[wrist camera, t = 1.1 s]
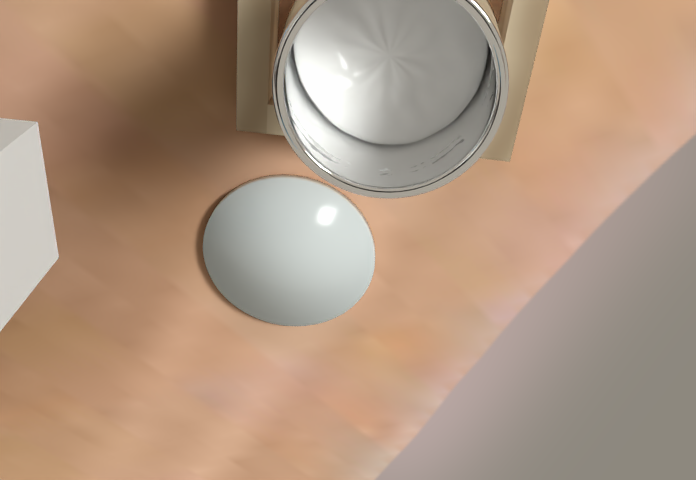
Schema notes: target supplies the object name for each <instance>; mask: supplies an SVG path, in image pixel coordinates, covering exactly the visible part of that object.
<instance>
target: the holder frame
mask: <svg viewBox="0 0 696 480" xmlns="http://www.w3.org/2000/svg"><path fill="white" fill-rule="evenodd" d="M548 3H549V0H503V4H502V8H501V13H500V18H499V23H498V28H499V32H500V36H501V40H502V42H503V45H504V48H505V52H506V56H507V61H508V68H509V94H508V101H507V106H506V110H505V113H504V116H503V119H502V122H501V125H500V127H499V129H498V131H497V133H496V135H495V137H494V139H493V140H492V142H491V144H490V145H489V147H488V148H487V149H486V151H485V152H484V153H483V155H482V156H481V157H480V158H482V159H490V160H499V161H508V162H510V159H511V155H512V151H513V147H514V143H515V139H516V134H517V130H518V126H519V122H520V118H521V114H522V110H523V106H524V102H525V98H526V93H527V89H528V85H529V81H530V77H531V73H532V69H533V65H534V61H535V56H536V52H537V48H538V44H539V40H540V36H541V32H542V28H543V24H544V19H545V15H546V11H547V7H548ZM278 23H279V0H238V14H237V102H236V130H238V131H247V132H256V133H264V134H273V135H282V136H284V134H283V132H282V130H281V128H280V125H279V122H278V120H277V116H276V113H275V109H274V104H273V97H272V70H273V64H274V59H275V55H276V51H277V46H278Z"/></svg>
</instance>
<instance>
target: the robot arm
mask: <svg viewBox="0 0 696 480" xmlns="http://www.w3.org/2000/svg"><path fill="white" fill-rule="evenodd" d="M58 258H59V255H58V249H57V243H56V236H55V230H54V223H53V217H52V211H51V204H50V198H49V191H48V185H47V179H46V172H45V166H44V159H43V153H42V147H41V140H40V134H39V127H38V122H33V121H24V120H14V119H4V118H0V331H1V330H2V329H3V327H4V326H5V325H6V324H7V322H8V321H9V320H10V319H11V317H12V316H13V315H14V313H15V312H16V311H17V310H18V308H19V307H20V306H21V305H22V303H23V302H24V301H25V300H26V298H27V297H28V296H29V295H30V293H31V292H32V291H33V289H34V288H35V287H36V286H37V284H38V283H39V282H40V281H41V279H42V278H43V277H44V276H45V274H46V273H47V272H48V271H49V269H50V268H51V267H52V266H53V264H54V263H55V262H56V260H57V259H58Z"/></svg>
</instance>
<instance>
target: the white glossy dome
mask: <svg viewBox="0 0 696 480" xmlns="http://www.w3.org/2000/svg"><path fill="white" fill-rule="evenodd" d="M203 255H204V260H205V264H206V268H207V270H208V273H209V275H210V277H211V279H212V281H213V282H214V284H215V286H216V287H217V288H218V290H219V291H220V292H221V293H222V294H223V295H224V296H225V298H226V299H227V300H228V301H230V302H231V303H232V304H233V305H235V306H236V307H237V308H239V309H240V310H242V311H243V312H245V313H247V314H249V315H251V316H253V317H255V318H257V319H260V320H263V321H266V322H269V323H273V324H278V325H284V326H307V325H314V324H319V323H322V322H326V321H328V320H331V319H333V318H336V317H338V316H339V315H341V314H343V313H345V312H346V311H347V310H349V309H350V308H351V307H353V306H354V305H355V304H356V303H357V302H358V301H359V300H360V298H361V297H362V296H363V295H364V293H365V291H366V290H367V288H368V286H369V284H370V281H371V279H372V276H373V272H374V266H375V244H374V239H373V235H372V232H371V229H370V227H369V224H368V222H367V221H366V219H365V217H364V216H363V214H362V213H361V212H360V210H359V209H358V208H357V206H356V205H355V204H354V203H353V202H352V201H351V200H350V199H349V198H347V197H346V196H345V195H343V194H342V193H341V192H339V191H338V190H336V189H334V188H333V187H331V186H329V185H327V184H325V183H323V182H320V181H318V180H315V179H311V178H308V177H303V176H298V175H285V174H281V175H269V176H264V177H259V178H256V179H253V180H250V181H248V182H246V183H244V184H242V185H239V186H238V187H236V188H235V189H233V190H232V191H231V192H229V193H228V194H227V195H226V196H225V197H224V198H223V199H222V200H221V201H220V202H219V204H218V205H217V206H216V208H215V210H214V211H213V213H212V215H211V217H210V219H209V221H208V223H207V226H206V229H205V233H204V238H203Z"/></svg>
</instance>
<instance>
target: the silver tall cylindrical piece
mask: <svg viewBox="0 0 696 480" xmlns="http://www.w3.org/2000/svg"><path fill="white" fill-rule="evenodd" d="M508 94H509V68H508V61H507V56H506V52H505V48H504V45H503V42H502V40H501V36H500V32H499V28H498V24H497V21H496V18H495V15H494V12H493V10H492V8H491V5H490V3H489V1H488V0H295V2H294V4H293V6H292V8H291V10H290V13H289V15H288V18H287V20H286V23H285V27H284V30H283V34H282V37H281V40H280V42H279V45H278V48H277V51H276V55H275V59H274V64H273V70H272V97H273V104H274V109H275V113H276V116H277V120H278V122H279V125H280V128H281V130H282V132H283V134H284V136H285V138H286V140H287V142H288V143H289V145H290V146H291V148H292V149H293V151H294V152H295V153H296V155H297V156H298V157H299V158H300V159H301V160H302V162H303V163H304V164H305V165H306V166H308V167H309V168H310V169H311V170H312V171H313V172H314V173H316V174H317V175H318V176H320V177H321V178H323V179H324V180H326V181H327V182H329V183H331V184H333V185H334V186H337V187H339V188H341V189H343V190H346V191H348V192H351V193H354V194H358V195H362V196H367V197H374V198H404V197H411V196H416V195H420V194H423V193H427V192H430V191H432V190H435V189H437V188H439V187H442V186H444V185H446V184H447V183H449V182H451V181H453V180H454V179H456V178H457V177H459V176H460V175H462V174H463V173H464V172H465V171H467V170H468V169H469V168H470V167H471V166H472V165H473V164H474V163H475V162H476V161H477V160H478V159H479V158H480V157H481V156H482V155H483V153H484V152H485V151H486V149H487V148H488V147H489V145H490V144H491V142H492V140H493V139H494V137H495V135H496V133H497V131H498V129H499V127H500V125H501V122H502V119H503V116H504V113H505V110H506V106H507V101H508Z"/></svg>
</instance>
